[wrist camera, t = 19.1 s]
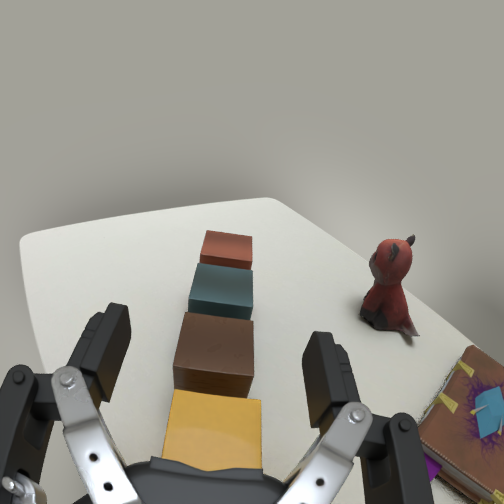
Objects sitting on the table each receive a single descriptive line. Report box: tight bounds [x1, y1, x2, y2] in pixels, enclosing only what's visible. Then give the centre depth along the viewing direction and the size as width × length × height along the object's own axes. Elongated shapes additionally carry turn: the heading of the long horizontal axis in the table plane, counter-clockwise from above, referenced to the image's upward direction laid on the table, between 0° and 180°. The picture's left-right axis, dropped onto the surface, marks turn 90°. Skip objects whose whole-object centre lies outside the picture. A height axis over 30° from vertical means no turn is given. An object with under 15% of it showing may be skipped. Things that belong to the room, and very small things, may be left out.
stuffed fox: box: [360, 234, 420, 337], centre depth 34 cm, size 8×11×12 cm
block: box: [161, 389, 262, 471], centre depth 15 cm, size 5×5×9 cm
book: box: [418, 345, 504, 504], centre depth 19 cm, size 16×25×5 cm, turn 127°
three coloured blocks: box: [173, 230, 254, 399], centre depth 27 cm, size 18×5×9 cm, turn 0°
